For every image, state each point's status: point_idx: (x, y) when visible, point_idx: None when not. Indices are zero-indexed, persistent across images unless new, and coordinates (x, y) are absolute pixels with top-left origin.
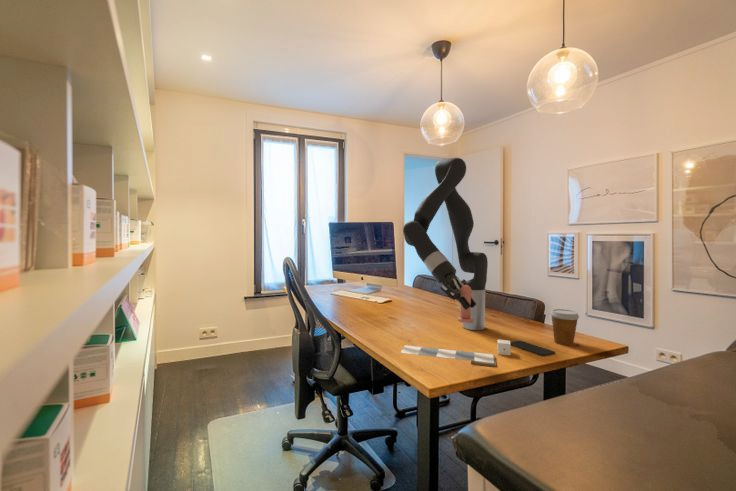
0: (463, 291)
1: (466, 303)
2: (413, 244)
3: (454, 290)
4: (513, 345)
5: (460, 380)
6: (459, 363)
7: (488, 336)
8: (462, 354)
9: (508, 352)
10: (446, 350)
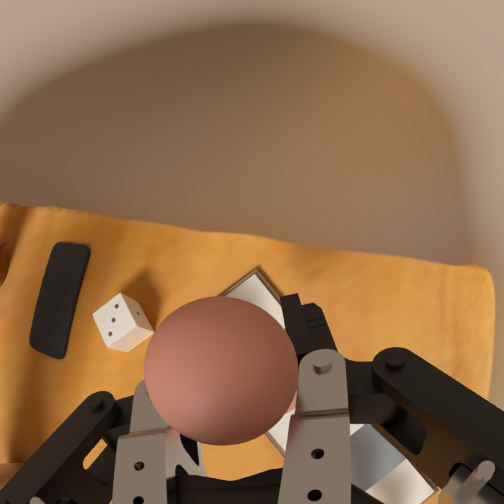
0: (295, 357)
1: (307, 316)
2: None
3: (423, 403)
4: (67, 337)
5: (416, 262)
6: None
7: (49, 430)
8: None
9: (136, 304)
10: None
